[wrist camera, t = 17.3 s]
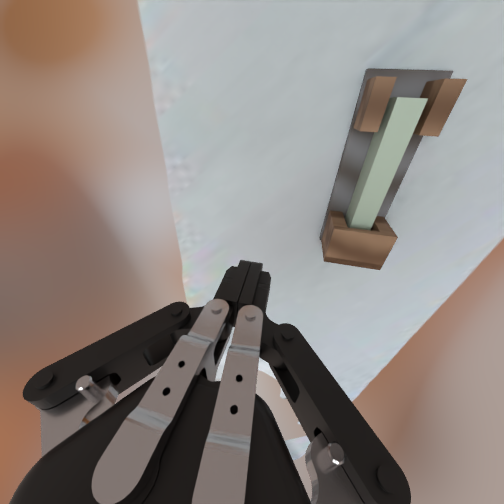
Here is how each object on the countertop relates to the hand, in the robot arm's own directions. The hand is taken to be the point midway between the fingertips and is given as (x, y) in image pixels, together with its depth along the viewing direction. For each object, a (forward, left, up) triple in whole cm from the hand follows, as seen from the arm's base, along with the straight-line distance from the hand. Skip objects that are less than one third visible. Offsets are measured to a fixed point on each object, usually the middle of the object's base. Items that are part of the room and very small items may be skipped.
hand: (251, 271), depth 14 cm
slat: (0, +13, -24) cm, 27 cm away
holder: (-1, +13, -25) cm, 28 cm away
